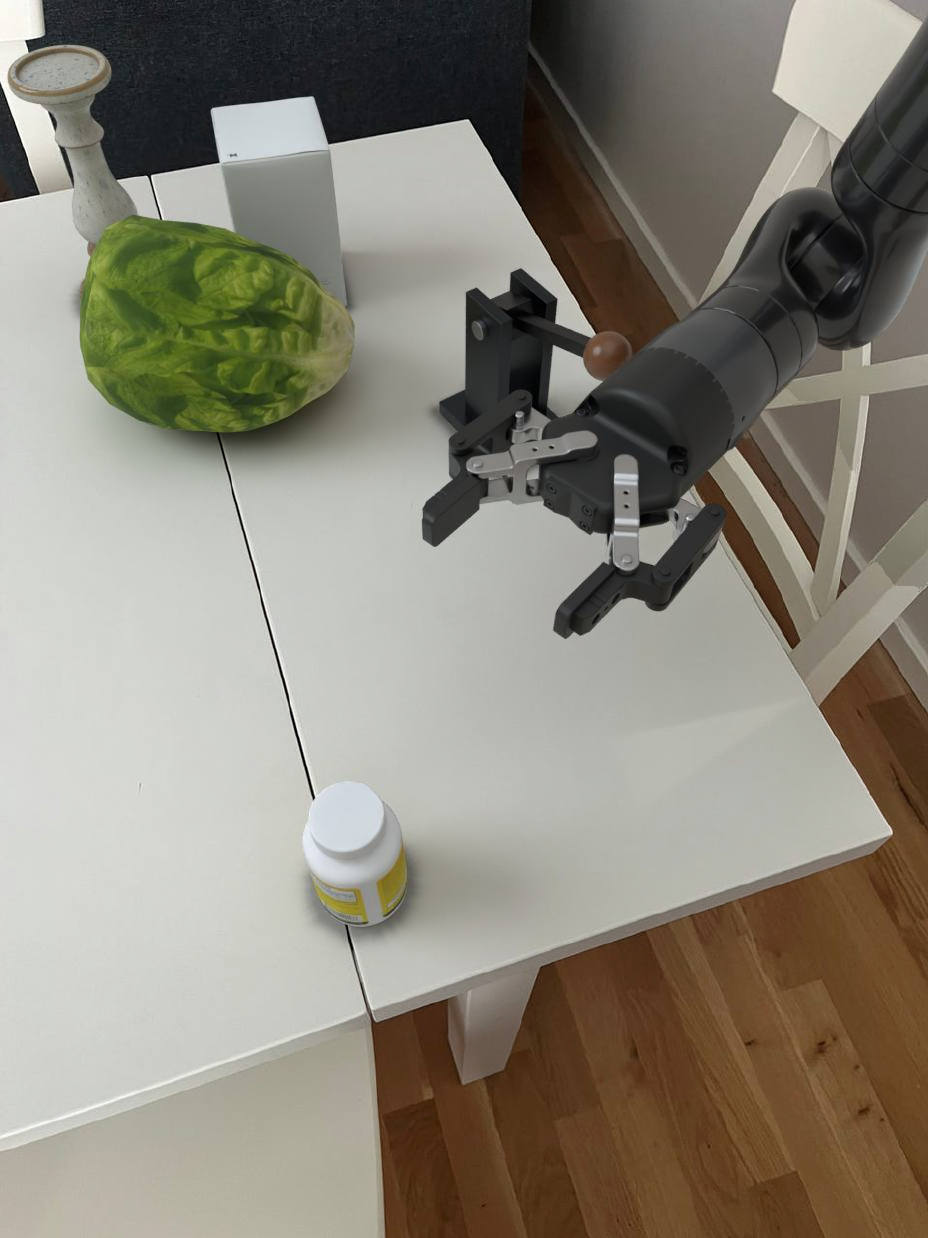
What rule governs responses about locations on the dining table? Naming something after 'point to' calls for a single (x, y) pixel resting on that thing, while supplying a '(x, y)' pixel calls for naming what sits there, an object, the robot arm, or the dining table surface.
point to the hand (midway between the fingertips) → (491, 578)
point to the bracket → (502, 355)
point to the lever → (567, 337)
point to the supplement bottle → (355, 854)
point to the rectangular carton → (282, 183)
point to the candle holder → (76, 129)
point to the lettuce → (207, 327)
